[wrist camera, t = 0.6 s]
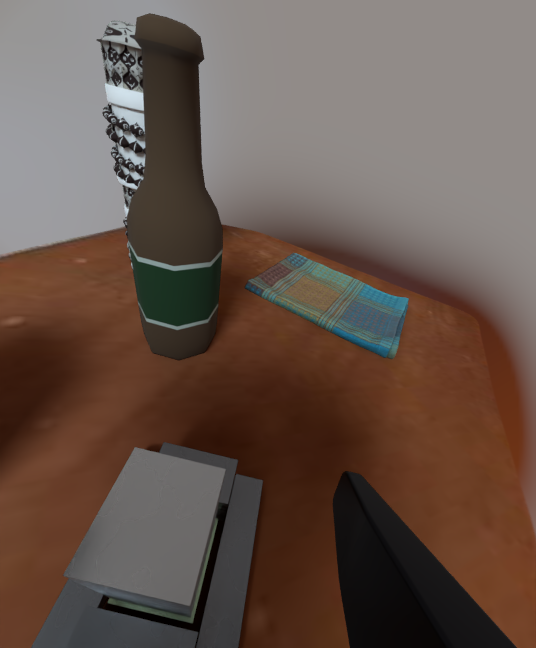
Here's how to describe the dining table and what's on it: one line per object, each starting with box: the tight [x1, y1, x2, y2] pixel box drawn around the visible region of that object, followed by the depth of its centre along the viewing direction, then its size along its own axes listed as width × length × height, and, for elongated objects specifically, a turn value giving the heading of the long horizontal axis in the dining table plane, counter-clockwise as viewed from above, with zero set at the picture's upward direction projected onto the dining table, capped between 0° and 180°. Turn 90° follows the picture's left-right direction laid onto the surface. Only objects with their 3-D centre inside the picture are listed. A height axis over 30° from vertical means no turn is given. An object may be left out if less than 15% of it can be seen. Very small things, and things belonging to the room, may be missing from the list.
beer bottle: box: [127, 14, 223, 360], centre depth 22 cm, size 8×8×24 cm
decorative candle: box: [97, 21, 146, 269], centre depth 32 cm, size 9×9×25 cm
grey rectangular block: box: [63, 447, 226, 624], centre depth 12 cm, size 4×4×9 cm
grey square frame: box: [31, 442, 263, 648], centre depth 14 cm, size 10×9×4 cm
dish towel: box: [245, 253, 408, 359], centre depth 42 cm, size 17×23×2 cm
